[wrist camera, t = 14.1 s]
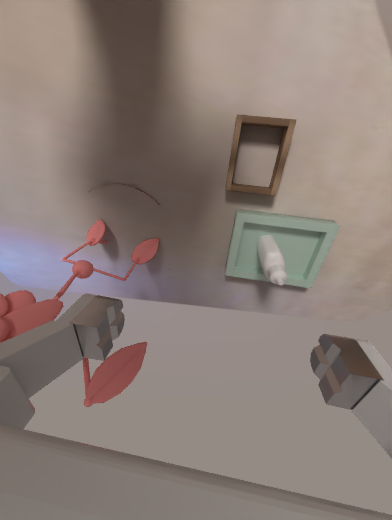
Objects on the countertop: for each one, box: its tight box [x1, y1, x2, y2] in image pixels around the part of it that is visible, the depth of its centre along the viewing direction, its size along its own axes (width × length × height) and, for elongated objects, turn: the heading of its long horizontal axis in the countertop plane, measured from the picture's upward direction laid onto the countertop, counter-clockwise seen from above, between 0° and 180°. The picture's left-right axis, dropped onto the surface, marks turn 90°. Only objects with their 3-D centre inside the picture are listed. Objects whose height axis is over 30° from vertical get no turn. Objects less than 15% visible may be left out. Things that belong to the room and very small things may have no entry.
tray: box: [225, 209, 340, 288], centre depth 38 cm, size 17×13×2 cm
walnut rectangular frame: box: [226, 115, 296, 196], centre depth 31 cm, size 10×8×2 cm
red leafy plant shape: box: [0, 181, 170, 407], centre depth 25 cm, size 15×26×35 cm, turn 69°
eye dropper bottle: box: [257, 235, 287, 285], centre depth 33 cm, size 4×6×12 cm
